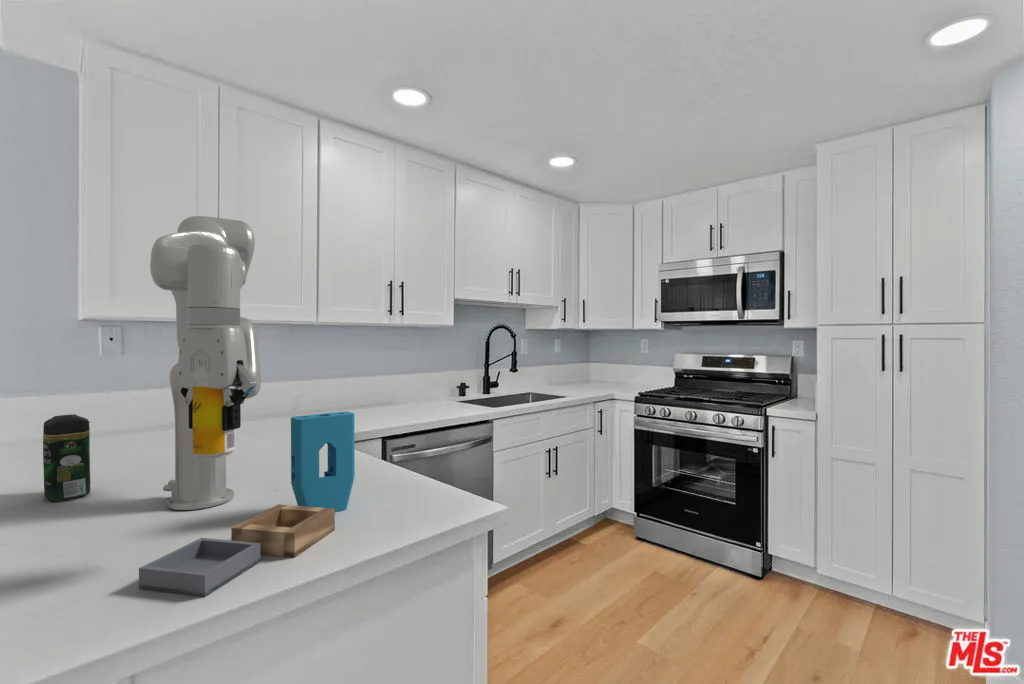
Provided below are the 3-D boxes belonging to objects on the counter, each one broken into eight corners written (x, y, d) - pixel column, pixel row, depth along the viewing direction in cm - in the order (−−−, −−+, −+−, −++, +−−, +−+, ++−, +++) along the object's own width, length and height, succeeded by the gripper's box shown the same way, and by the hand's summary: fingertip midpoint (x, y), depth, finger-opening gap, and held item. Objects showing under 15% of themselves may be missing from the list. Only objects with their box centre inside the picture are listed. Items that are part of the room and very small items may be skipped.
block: (297, 520, 98) (297, 419, 98) (289, 514, 101) (289, 416, 101) (356, 507, 105) (355, 413, 105) (347, 501, 109) (346, 411, 109)
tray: (139, 588, 71) (138, 568, 71) (201, 555, 82) (201, 537, 82) (205, 596, 69) (204, 575, 69) (260, 561, 80) (260, 543, 80)
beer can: (206, 451, 85) (206, 363, 85) (242, 450, 85) (242, 363, 85) (184, 459, 79) (184, 366, 79) (223, 459, 79) (223, 366, 79)
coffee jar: (41, 495, 113) (41, 415, 113) (87, 488, 119) (86, 411, 119) (45, 505, 107) (44, 419, 107) (93, 496, 113) (92, 415, 112)
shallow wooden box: (231, 551, 84) (231, 527, 84) (278, 525, 95) (278, 504, 95) (294, 557, 81) (294, 533, 81) (334, 529, 93) (334, 508, 93)
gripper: (151, 319, 80) (152, 430, 80) (240, 318, 76) (240, 435, 76) (191, 320, 87) (192, 422, 88) (274, 320, 83) (275, 426, 84)
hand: (214, 427), depth 82 cm, fingers closed on beer can, 5 cm apart
